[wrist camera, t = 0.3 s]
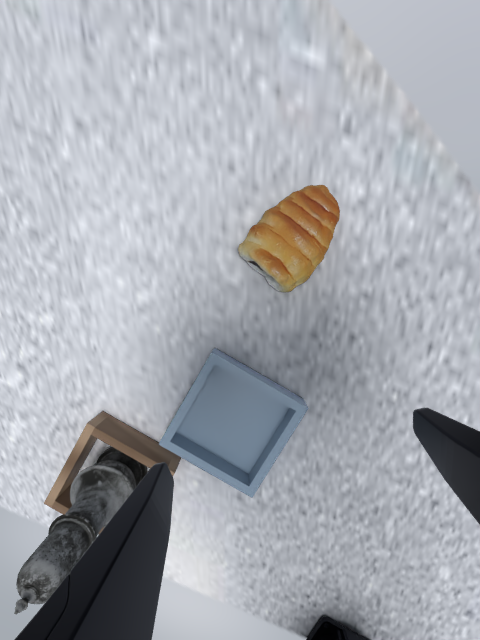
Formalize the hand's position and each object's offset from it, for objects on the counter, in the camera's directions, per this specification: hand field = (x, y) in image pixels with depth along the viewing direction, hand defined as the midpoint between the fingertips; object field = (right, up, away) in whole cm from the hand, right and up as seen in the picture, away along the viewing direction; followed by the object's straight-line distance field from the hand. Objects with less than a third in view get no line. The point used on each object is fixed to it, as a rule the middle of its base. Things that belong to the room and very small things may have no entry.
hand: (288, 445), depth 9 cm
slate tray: (-2, -5, +16) cm, 17 cm away
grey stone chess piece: (-14, -11, +17) cm, 25 cm away
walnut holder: (-14, -11, +17) cm, 25 cm away
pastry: (+3, +12, +15) cm, 19 cm away
